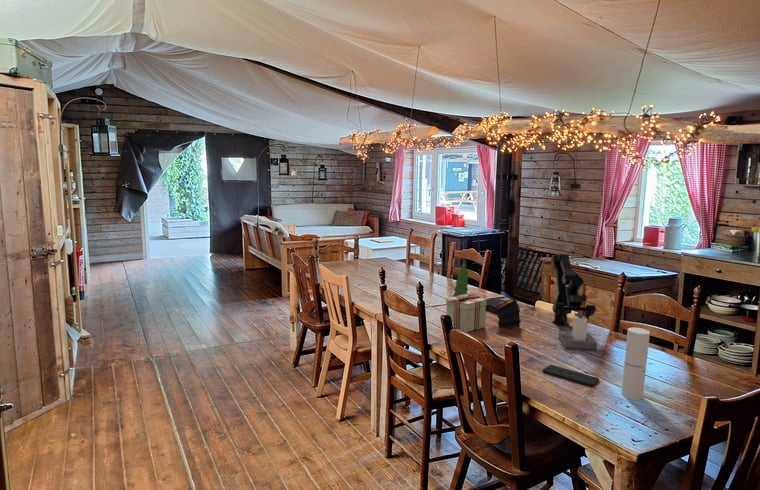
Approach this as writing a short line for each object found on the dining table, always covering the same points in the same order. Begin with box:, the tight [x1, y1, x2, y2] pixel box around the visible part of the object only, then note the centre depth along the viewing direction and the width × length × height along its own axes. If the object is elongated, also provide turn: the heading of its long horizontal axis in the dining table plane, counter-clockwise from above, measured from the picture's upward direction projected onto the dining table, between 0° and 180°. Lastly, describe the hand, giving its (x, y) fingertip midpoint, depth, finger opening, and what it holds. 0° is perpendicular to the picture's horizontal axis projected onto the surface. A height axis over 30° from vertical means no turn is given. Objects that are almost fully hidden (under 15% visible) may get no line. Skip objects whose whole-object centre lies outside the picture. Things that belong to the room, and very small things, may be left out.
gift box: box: [444, 292, 488, 333], centre depth 261 cm, size 17×18×17 cm
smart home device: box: [542, 364, 600, 388], centre depth 202 cm, size 8×2×20 cm
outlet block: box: [558, 330, 598, 352], centre depth 238 cm, size 14×14×4 cm
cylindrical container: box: [620, 327, 651, 401], centre depth 184 cm, size 7×7×25 cm
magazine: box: [495, 297, 522, 329], centre depth 262 cm, size 4×13×15 cm, turn 103°
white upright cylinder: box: [571, 313, 588, 341], centre depth 235 cm, size 5×5×15 cm
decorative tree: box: [452, 259, 469, 297], centre depth 290 cm, size 10×9×30 cm
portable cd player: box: [486, 297, 520, 315], centre depth 296 cm, size 16×17×4 cm
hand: (576, 324), depth 241 cm, fingers open, 9 cm apart
